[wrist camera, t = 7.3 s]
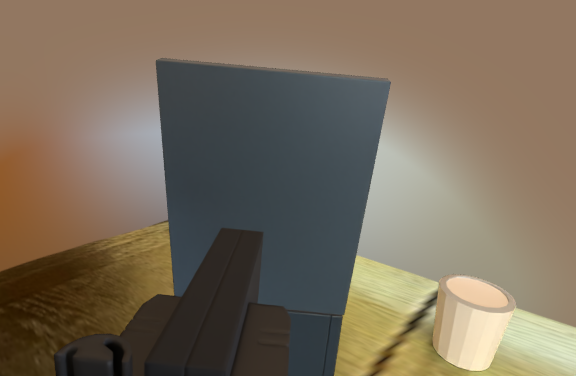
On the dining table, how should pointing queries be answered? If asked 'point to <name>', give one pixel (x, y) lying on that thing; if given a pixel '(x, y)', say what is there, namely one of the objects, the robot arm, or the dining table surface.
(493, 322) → the cream tapered cup
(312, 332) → the chest
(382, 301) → the dining table surface
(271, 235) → the lid
